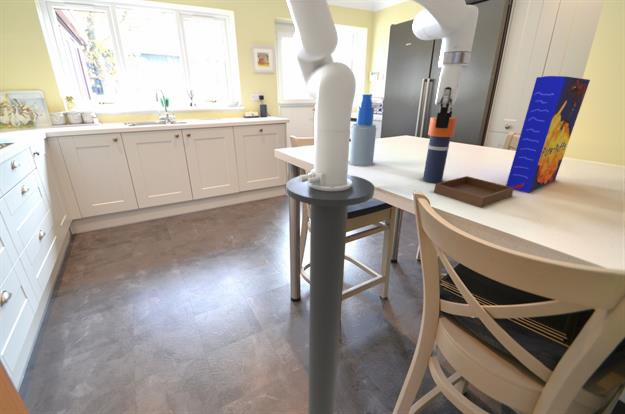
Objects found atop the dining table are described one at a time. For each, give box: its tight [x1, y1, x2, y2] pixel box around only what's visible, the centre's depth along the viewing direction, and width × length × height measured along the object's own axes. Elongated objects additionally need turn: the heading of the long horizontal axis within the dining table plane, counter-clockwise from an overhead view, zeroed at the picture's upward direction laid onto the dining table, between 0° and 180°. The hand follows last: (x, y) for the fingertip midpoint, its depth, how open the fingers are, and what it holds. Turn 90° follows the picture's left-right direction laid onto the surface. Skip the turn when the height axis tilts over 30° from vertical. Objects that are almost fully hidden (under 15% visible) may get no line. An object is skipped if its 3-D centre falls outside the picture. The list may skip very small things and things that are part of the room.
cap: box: [427, 116, 458, 138], centre depth 83 cm, size 7×7×5 cm
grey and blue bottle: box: [349, 93, 377, 167], centre depth 105 cm, size 9×9×25 cm
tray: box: [433, 175, 515, 208], centre depth 77 cm, size 15×13×2 cm
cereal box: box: [505, 75, 591, 194], centre depth 82 cm, size 22×6×30 cm, turn 126°
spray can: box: [422, 135, 451, 184], centre depth 87 cm, size 6×6×14 cm
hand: (442, 126), depth 83 cm, fingers open, 9 cm apart
